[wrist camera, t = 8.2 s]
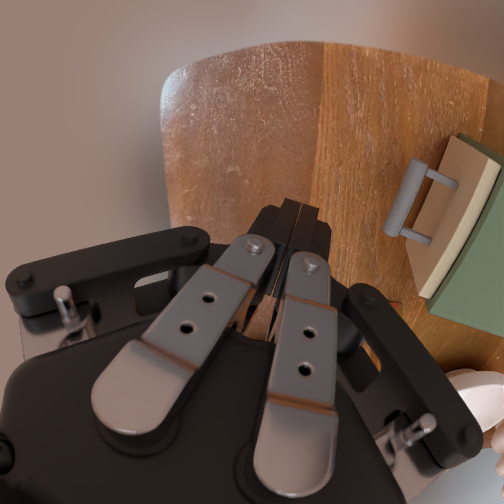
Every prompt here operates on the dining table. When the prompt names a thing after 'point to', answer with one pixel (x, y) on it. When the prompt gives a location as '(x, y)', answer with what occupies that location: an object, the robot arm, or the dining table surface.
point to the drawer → (442, 210)
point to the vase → (499, 448)
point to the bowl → (481, 394)
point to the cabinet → (478, 266)
